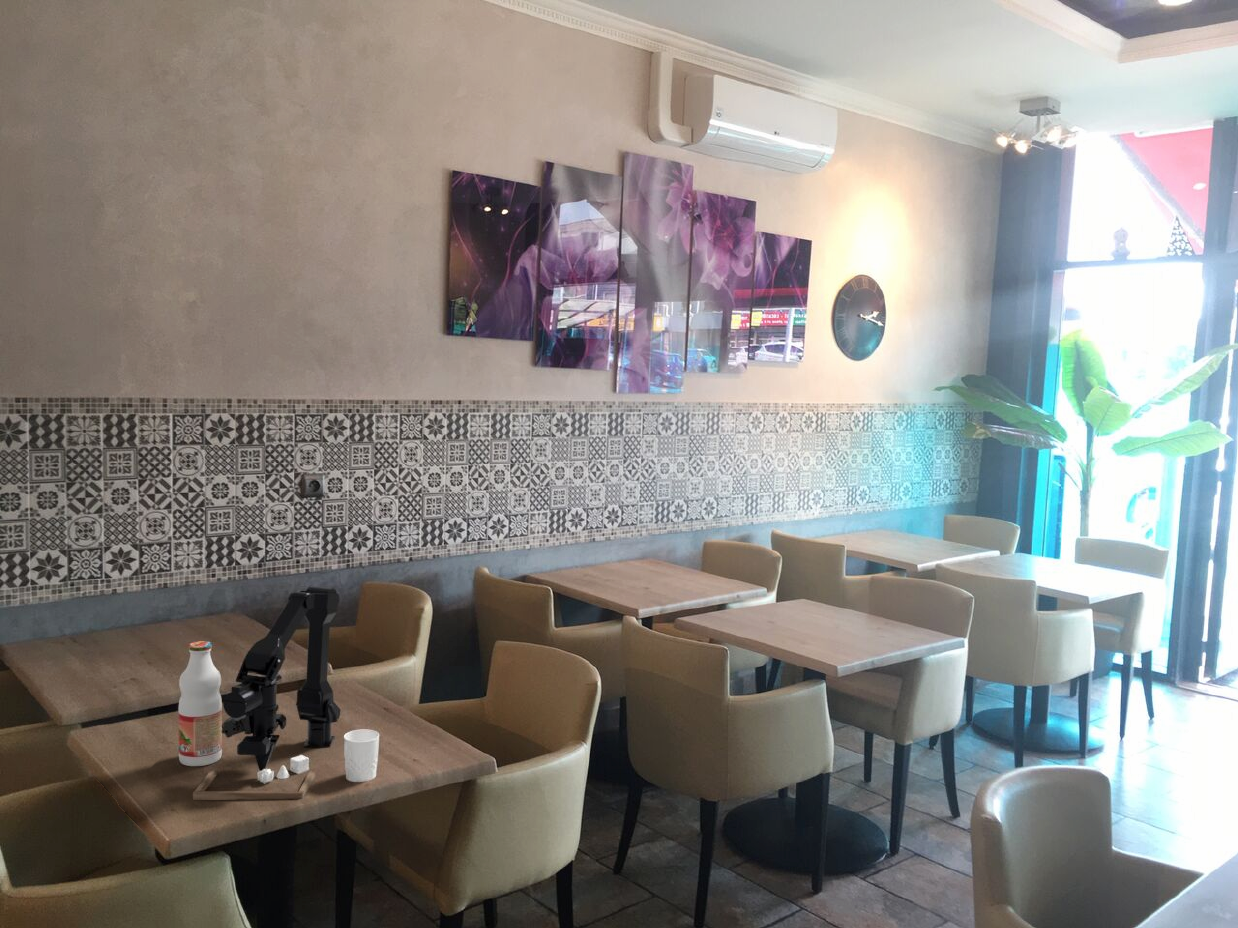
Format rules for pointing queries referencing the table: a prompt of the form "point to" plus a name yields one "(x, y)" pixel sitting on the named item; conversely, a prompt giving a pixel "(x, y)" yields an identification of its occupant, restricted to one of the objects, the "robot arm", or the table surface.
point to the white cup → (361, 754)
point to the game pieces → (297, 766)
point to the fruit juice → (200, 709)
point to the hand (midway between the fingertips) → (262, 770)
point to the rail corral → (234, 795)
